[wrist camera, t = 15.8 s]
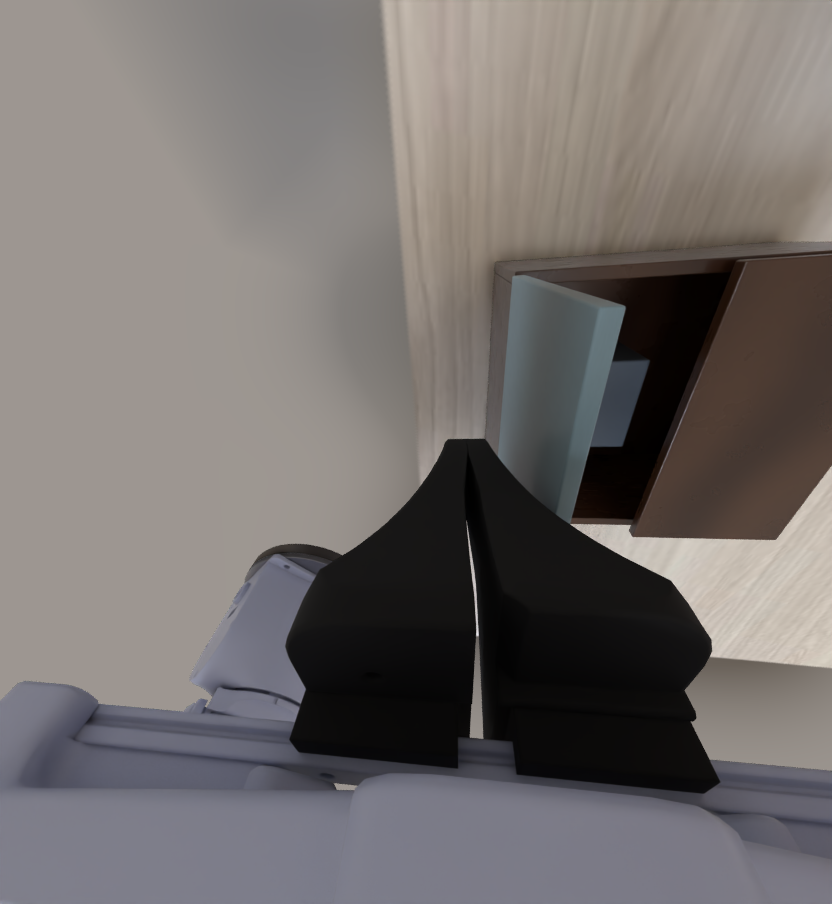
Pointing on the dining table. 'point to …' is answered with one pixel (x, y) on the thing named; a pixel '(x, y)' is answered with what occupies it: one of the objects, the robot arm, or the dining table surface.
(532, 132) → the dining table surface
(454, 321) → the dining table surface
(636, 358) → the block
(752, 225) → the dining table surface
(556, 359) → the door
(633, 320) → the box
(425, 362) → the dining table surface
